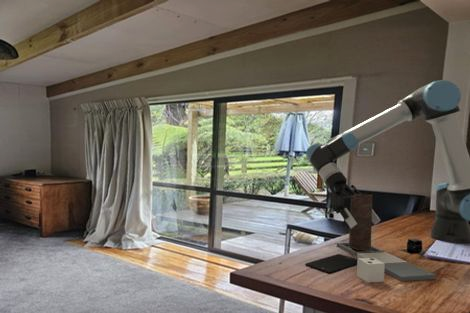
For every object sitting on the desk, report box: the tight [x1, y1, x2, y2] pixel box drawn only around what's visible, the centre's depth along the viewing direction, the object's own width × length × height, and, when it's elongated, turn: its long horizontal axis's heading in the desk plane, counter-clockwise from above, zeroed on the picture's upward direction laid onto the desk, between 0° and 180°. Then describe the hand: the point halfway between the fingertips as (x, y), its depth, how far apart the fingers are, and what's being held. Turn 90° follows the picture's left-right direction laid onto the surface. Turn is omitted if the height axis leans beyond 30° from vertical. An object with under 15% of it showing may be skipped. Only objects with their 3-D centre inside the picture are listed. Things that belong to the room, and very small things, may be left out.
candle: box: [348, 193, 373, 252], centre depth 123 cm, size 8×7×20 cm
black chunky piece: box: [399, 238, 427, 255], centre depth 125 cm, size 12×7×5 cm, turn 112°
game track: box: [336, 241, 436, 282], centre depth 112 cm, size 11×34×1 cm, turn 13°
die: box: [356, 257, 385, 283], centre depth 96 cm, size 5×5×5 cm
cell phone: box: [304, 253, 358, 275], centre depth 107 cm, size 9×18×1 cm, turn 130°
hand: (366, 224), depth 121 cm, fingers open, 13 cm apart
